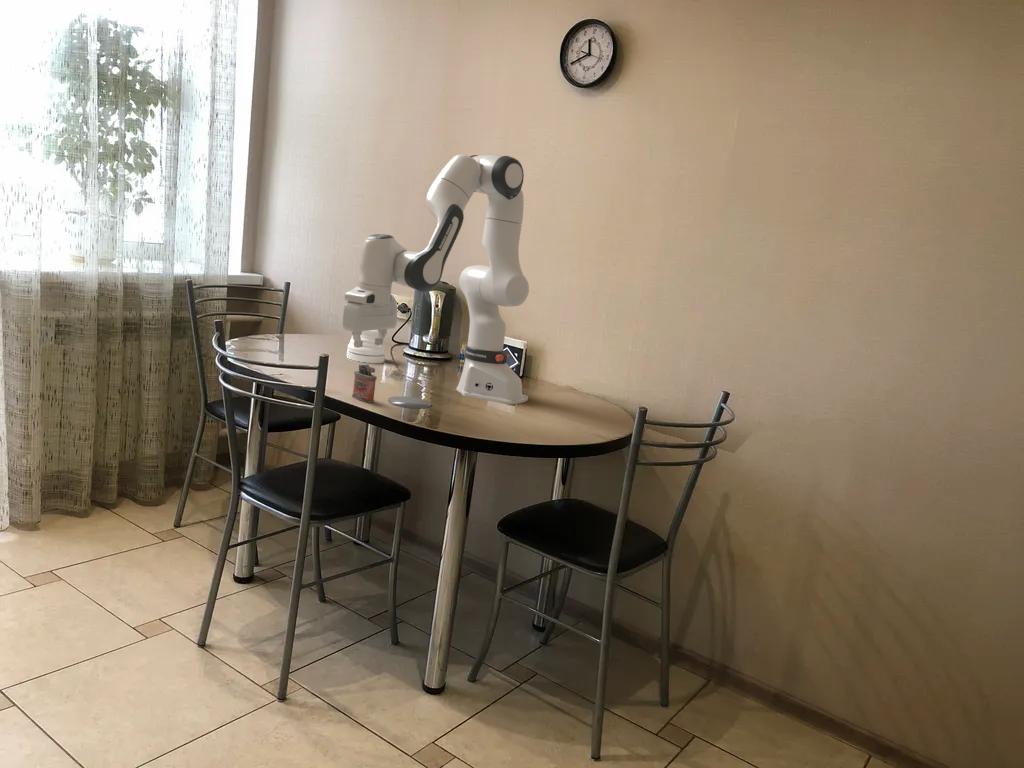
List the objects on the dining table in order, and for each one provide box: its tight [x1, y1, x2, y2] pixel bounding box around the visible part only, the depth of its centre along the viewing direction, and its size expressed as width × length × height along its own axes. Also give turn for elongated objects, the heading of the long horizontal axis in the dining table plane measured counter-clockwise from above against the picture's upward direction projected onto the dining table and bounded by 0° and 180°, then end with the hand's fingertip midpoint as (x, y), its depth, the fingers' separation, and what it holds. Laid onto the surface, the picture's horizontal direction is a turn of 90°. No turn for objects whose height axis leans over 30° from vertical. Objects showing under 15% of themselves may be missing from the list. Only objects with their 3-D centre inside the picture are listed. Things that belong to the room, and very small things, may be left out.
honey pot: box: [346, 330, 386, 364], centre depth 272 cm, size 13×13×18 cm
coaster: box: [387, 395, 432, 410], centre depth 221 cm, size 12×12×1 cm
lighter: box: [351, 363, 378, 404], centre depth 217 cm, size 8×3×10 cm, turn 47°
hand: (368, 346), depth 215 cm, fingers open, 8 cm apart
